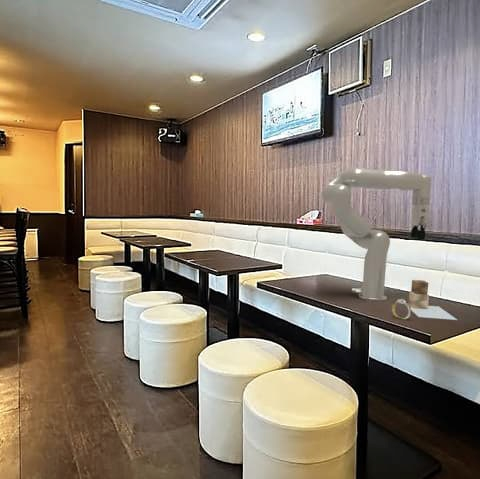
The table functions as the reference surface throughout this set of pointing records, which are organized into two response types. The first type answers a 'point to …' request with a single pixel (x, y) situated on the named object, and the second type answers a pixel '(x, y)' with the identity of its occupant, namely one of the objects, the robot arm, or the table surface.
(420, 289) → the walnut block
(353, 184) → the robot arm
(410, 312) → the bracelet
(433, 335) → the table surface
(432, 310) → the board
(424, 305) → the base block
